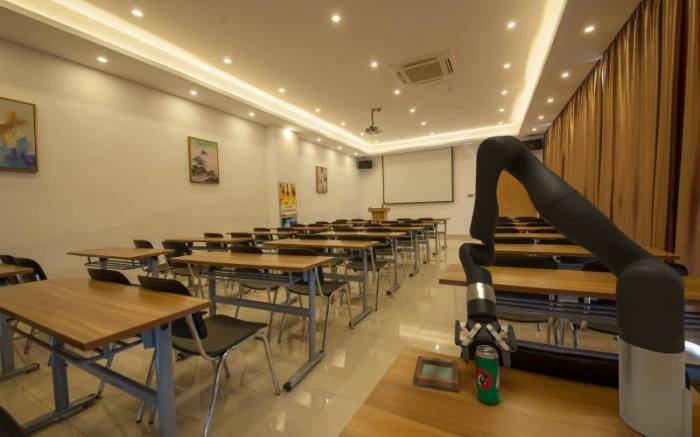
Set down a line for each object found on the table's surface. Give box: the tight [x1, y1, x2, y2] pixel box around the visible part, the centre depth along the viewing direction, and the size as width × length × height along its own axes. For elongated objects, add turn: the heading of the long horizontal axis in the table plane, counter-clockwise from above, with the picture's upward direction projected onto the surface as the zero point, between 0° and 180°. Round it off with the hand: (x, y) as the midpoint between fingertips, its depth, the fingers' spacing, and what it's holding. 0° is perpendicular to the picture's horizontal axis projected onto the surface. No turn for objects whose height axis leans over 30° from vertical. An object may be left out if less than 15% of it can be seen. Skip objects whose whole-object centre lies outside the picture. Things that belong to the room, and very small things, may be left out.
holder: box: [413, 355, 460, 394], centre depth 78 cm, size 11×11×2 cm
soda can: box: [474, 344, 501, 406], centre depth 68 cm, size 5×5×12 cm
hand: (486, 366), depth 69 cm, fingers open, 8 cm apart
